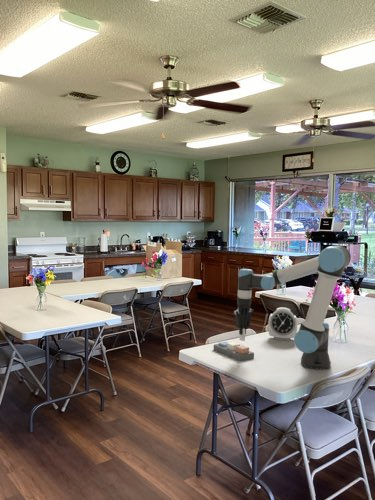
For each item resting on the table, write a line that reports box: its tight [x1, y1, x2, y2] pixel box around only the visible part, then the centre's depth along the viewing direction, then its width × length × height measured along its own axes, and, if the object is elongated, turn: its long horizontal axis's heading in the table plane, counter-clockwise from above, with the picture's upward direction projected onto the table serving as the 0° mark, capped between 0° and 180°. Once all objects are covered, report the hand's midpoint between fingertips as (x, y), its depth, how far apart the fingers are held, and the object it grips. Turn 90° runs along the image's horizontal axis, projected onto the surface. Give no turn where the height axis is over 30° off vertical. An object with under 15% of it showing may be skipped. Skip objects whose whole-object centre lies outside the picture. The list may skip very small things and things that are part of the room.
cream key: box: [227, 341, 241, 351], centre depth 242 cm, size 5×5×3 cm
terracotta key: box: [236, 344, 250, 354], centre depth 235 cm, size 5×5×3 cm
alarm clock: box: [267, 306, 298, 342], centre depth 275 cm, size 18×8×20 cm, turn 76°
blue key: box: [218, 341, 229, 347], centre depth 248 cm, size 5×5×3 cm
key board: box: [213, 343, 255, 362], centre depth 242 cm, size 23×10×3 cm, turn 35°
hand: (242, 340), depth 235 cm, fingers closed
